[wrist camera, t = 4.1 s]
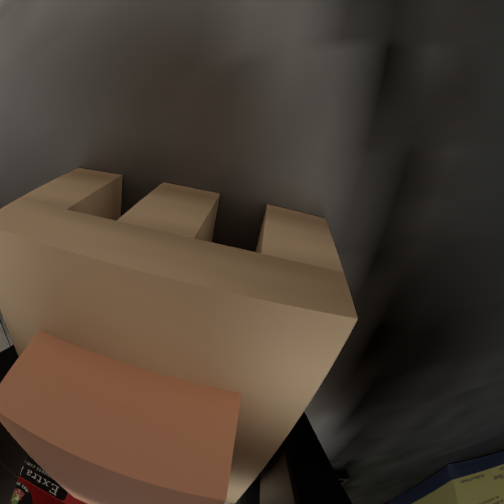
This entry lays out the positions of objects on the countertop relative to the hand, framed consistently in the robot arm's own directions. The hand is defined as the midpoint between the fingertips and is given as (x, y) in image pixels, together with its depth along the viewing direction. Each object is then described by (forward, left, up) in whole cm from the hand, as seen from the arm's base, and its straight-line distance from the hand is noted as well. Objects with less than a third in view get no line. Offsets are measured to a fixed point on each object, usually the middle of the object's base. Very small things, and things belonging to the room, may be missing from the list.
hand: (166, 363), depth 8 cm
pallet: (0, 0, -1) cm, 1 cm away
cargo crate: (0, 0, +3) cm, 3 cm away
